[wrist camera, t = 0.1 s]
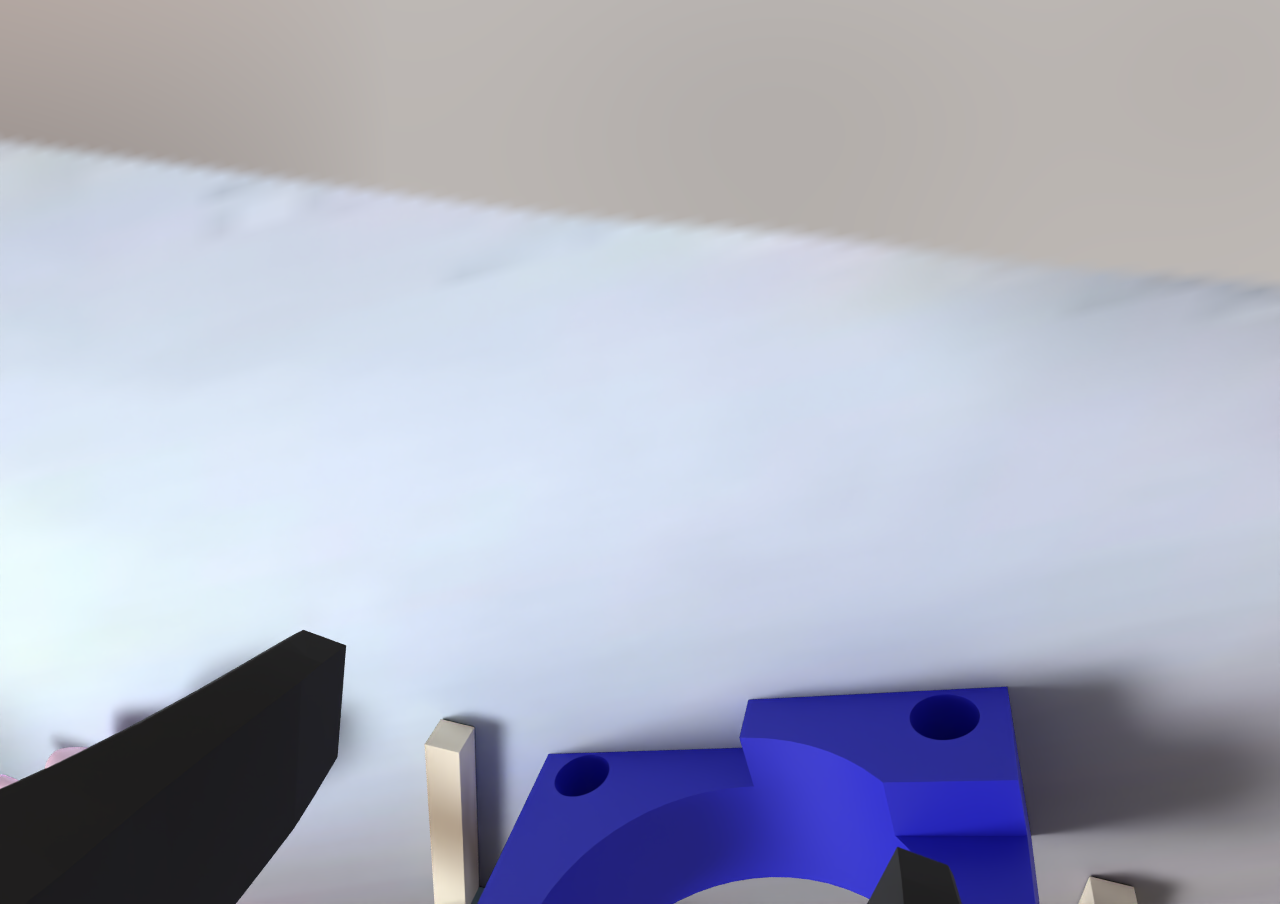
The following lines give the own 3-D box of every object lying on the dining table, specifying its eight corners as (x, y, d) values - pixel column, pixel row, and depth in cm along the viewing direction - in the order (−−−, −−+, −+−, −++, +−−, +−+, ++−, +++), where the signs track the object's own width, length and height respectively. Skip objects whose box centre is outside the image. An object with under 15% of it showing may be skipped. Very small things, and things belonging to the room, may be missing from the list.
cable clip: (1006, 682, 22) (1033, 908, 16) (1030, 830, 23) (1061, 1078, 18) (533, 706, 26) (435, 893, 20) (582, 830, 27) (503, 1031, 22)
